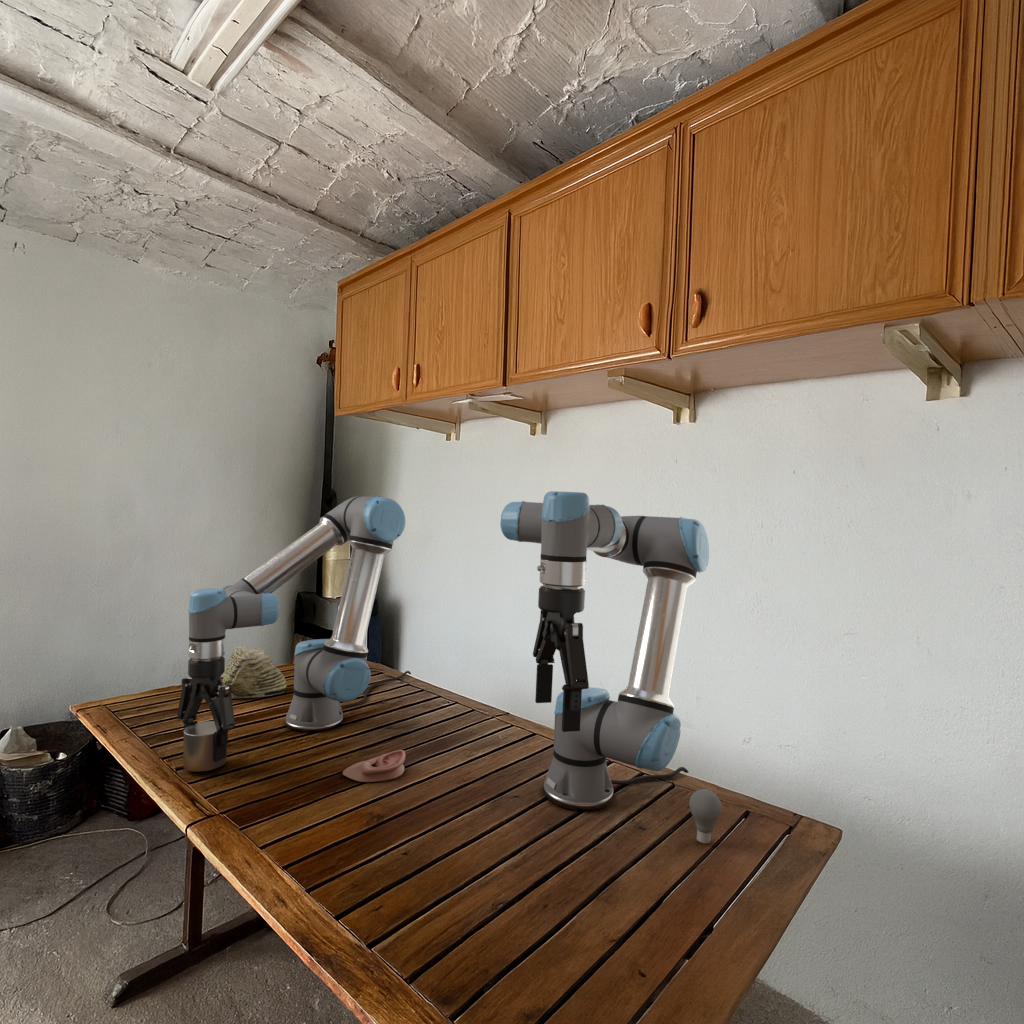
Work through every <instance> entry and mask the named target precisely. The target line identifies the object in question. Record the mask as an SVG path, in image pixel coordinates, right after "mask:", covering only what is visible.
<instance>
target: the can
mask: <svg viewBox="0 0 1024 1024" xmlns="http://www.w3.org/2000/svg"><path fill="white" fill-rule="evenodd" d="M221 727H222V725H221ZM216 731H217V729H216V726H215V723H214V720H208V721H207V720H206V721H201V722H198V723H196V724H193V725H190V726H188V727H186V728H185V729H184V728H183V740H182V741H183V748H182V749H183V751H182V752H183V754H182V767H183V769H184V770H186V771H189V772H207V771H212V770H215V769H218V768H220V767H222V766H223V765H225V764H226V762H227V760H228V759H227V757H228V755H227V753H228V744H227V745H226V758H224V759H222V760H220V761H217V762H214V732H216Z"/></svg>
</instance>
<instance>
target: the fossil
mask: <svg viewBox="0 0 1024 1024" xmlns="http://www.w3.org/2000/svg"><path fill="white" fill-rule="evenodd" d="M225 665H226V666H225V671H224V673H223V674H222V676H223V677H222V684H223V685H231V686H232V691H231V698H232V699H250V698H264V697H271V696H275V695H281V694H284V693H285V691H286V689H287V687H288V686H287V680H286V678H285V676H284V674H283V673H282V672H281V669H279V668H278V667H277V665H276V663H275V662H274V660H273V659H272V658H271V657H270V656H269V655H268V654H267V653H266V652H265V650H264V649H263V648H260V647H258V648H251V647H247V646H246V647H245V646H238V647H237V648H236V649H235V650H233V651H232V653H231V656H230V657H229V659H228V660H227V663H226V664H225Z"/></svg>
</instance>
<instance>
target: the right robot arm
mask: <svg viewBox="0 0 1024 1024" xmlns="http://www.w3.org/2000/svg"><path fill="white" fill-rule="evenodd" d="M500 530H501V533H502V535H503V536H504V537H505V538H506V539H507V540H509V541H515V542H518V543H531V544H532V543H533V544H540V561H539V564H540V565H537V566H536V569H537V571H538V572H539V583H540V584H542V585H540V587H539V588H538V601H537V606H538V609H539V610H540V615H539V624H538V627H537V632H536V638H535V642H534V647H533V651H532V657H533V658H535V663H536V677H535V703H536V704H547V703H550V704H552V700H553V699H552V698H553V697H552V696H553V678H554V665H553V664H555V663H556V662H555V658H554V656H555V653H556V651H558V653H559V658H560V663H561V667H562V672H563V678H564V682H565V684H563V685H562V687H561V690H562V691H561V692H560V693H559V694H558V695H557V696H556V701H555V706H554V707H555V708H554V712H553V713H554V730H553V731H554V732H553V757H552V759H551V762H550V765H549V768H548V770H547V773H546V775H545V778H544V781H543V796H544V797H545V798H546V800H548V801H549V802H550V803H552V804H554V805H555V806H556V807H557V806H558V807H559V808H563V809H567V810H571V811H579V812H592V811H597V810H602V809H604V808H606V807H608V806H610V805H611V804H612V803H613V799H614V787H613V785H619V786H625V785H630V784H634V783H637V782H642V781H647V780H664V779H672V778H674V777H675V776H677V775H678V774H679V773H681V772H684V773H685V774H688V773H689V769H687V768H686V767H684V766H680V767H678V768H677V769H676V770H674V771H672V772H670V773H666V774H665V773H664V774H647V775H641V776H637V777H634V778H630V779H629V778H628V779H625V780H623V779H621V780H619V779H611V775H610V771H609V768H608V764H607V759H610V760H612V761H616V762H620V763H623V764H627V765H630V766H633V767H636V769H643V770H648V771H653V772H658V771H659V772H660V771H662V770H664V769H665V768H666V767H667V766H668V765H669V764H670V762H671V761H672V759H673V758H674V756H675V753H676V751H677V748H678V745H679V741H680V737H681V727H682V724H681V720H680V718H679V717H678V716H677V715H676V714H675V713H674V711H675V705H674V703H673V702H672V700H671V699H670V696H669V695H670V689H671V684H672V677H673V671H674V665H675V661H676V654H677V649H678V642H679V637H680V632H681V631H680V630H681V624H682V619H683V613H684V607H685V602H686V601H685V600H686V595H687V589H688V587H689V586H691V585H692V584H693V583H695V582H696V580H697V574H698V573H704V572H705V571H706V570H707V568H708V565H709V559H710V546H709V538H708V533H707V529H705V526H704V524H703V523H702V522H701V521H700V520H698V519H696V518H695V519H694V518H687V517H683V516H681V517H680V516H679V517H671V516H670V517H669V516H651V515H650V516H649V515H648V516H647V515H623V516H621V514H620V513H619V512H618V511H617V510H616V509H615V508H613V507H611V506H609V505H605V504H590V498H589V495H588V494H587V493H586V492H580V491H579V492H578V491H559V490H558V491H556V490H554V491H552V490H551V491H547V492H546V493H545V494H544V496H543V501H542V502H534V501H533V502H532V501H531V502H530V501H525V500H521V501H511V502H509V503H507V504H505V506H504V507H503V509H502V511H501V515H500ZM588 551H590V552H593V553H594V554H595V555H597V556H598V557H602V558H607V559H610V560H614V561H617V562H622V563H625V564H628V565H634V566H639V567H640V566H641V567H642V573H643V574H644V576H645V577H646V578H647V581H646V588H645V592H644V599H643V603H642V609H641V614H640V619H639V625H638V629H637V635H636V641H635V645H634V652H633V657H632V660H631V661H632V663H631V668H630V672H629V678H628V683H627V686H626V688H624V689H623V690H621V691H620V692H619V693H618V697H617V700H616V701H615V700H611V695H610V692H609V691H608V690H607V689H605V688H601V687H594V686H593V687H591V686H589V685H590V683H589V675H588V668H587V660H586V659H587V658H586V652H585V643H584V625H583V623H582V622H575V614H579V613H582V612H584V610H585V601H586V590H585V589H584V588H583V587H584V586H585V585H586V584H587V568H588V567H587V565H588V561H587V554H588Z"/></svg>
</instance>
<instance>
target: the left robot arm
mask: <svg viewBox="0 0 1024 1024" xmlns="http://www.w3.org/2000/svg"><path fill="white" fill-rule="evenodd" d="M405 528H406V515H405V512H404V510H403V508H402V507H401V505H400V504H399V503H398V502H397V501H396V500H394V499H392V498H389V497H385V496H380V495H377V496H375V495H374V496H371V495H370V496H369V495H368V496H367V495H357V496H352V497H350V498H348V499H345V500H344V501H342V502H341V503H340V504H338V505H336V506H335V507H334V508H333V509H331V510H329V511H328V512H327V513H325V514H324V515H323V516H321V517H320V518H319V523H318V524H316V525H315V526H313V527H312V528H311V529H309V530H308V531H307V532H305V533H304V534H303V535H301V536H300V537H298V538H297V539H295V540H294V541H293V542H291V543H290V544H288V545H287V546H286V547H284V548H282V550H280V551H279V552H277V553H276V554H274V555H273V556H272V557H270V558H269V559H267V560H266V561H265V562H263V563H262V564H260V565H259V566H257V567H256V568H255V569H254V570H252V571H251V572H250V573H248V574H246V576H244V577H242V578H241V579H239V580H238V581H236V582H235V583H233V584H232V585H231V584H229V585H224V586H222V587H220V588H217V587H216V588H199V589H196V590H193V591H192V592H191V593H190V595H189V601H188V603H189V604H188V611H187V612H188V658H190V659H188V661H187V675H188V676H187V677H183V678H182V679H181V692H180V696H179V697H180V698H179V704H178V709H177V715H176V718H177V720H181V722H182V723H183V730H184V729H185V728H186V727H188V726H190V725H193V724H196V723H199V722H198V721H197V720H198V717H197V716H198V713H199V710H200V707H201V705H202V702H203V701H204V700H205V703H206V705H208V707H209V709H210V710H209V711H210V713H211V717H212V719H213V720H212V721H214V723H215V726H216V729H217V731H216V732H214V762H217V761H220V760H222V759H224V758H226V745H227V746H228V742H229V731H230V730H234V729H236V721H235V715H234V714H235V713H234V707H233V698H231V691H232V686H231V685H223V680H222V676H223V675H224V672H225V668H226V666H225V665H226V659H225V657H224V656H225V655H226V631H227V630H234V629H242V628H253V627H263V626H269V625H273V624H275V623H277V621H278V619H279V616H280V609H281V608H280V601H279V599H278V597H277V595H276V594H274V592H275V591H276V590H278V589H279V588H281V587H282V586H283V585H284V584H286V583H287V582H289V581H290V580H291V579H292V578H294V577H295V576H296V575H298V574H300V573H301V572H302V571H303V570H305V569H307V567H309V566H310V565H312V564H313V563H314V562H315V561H317V560H318V559H319V558H321V557H322V556H324V555H325V554H326V553H327V552H329V551H330V550H332V549H333V548H335V547H336V546H339V547H340V546H343V545H344V544H346V543H347V542H348V543H349V546H350V547H351V549H352V550H351V553H350V558H349V562H348V567H347V570H346V575H345V580H344V583H343V588H342V592H341V596H340V601H339V605H338V608H337V613H336V617H335V622H334V627H333V629H332V635H331V637H330V638H319V639H308V640H303V641H300V642H297V644H296V645H295V650H294V655H293V656H294V672H293V695H292V696H293V697H292V699H291V702H290V704H289V708H288V711H287V713H286V715H285V726H286V728H287V729H289V730H291V731H294V732H295V731H296V732H301V733H316V732H325V731H329V730H332V729H335V728H337V727H339V726H340V725H342V723H343V722H344V714H343V709H345V708H349V707H353V706H357V705H360V704H362V703H364V702H365V701H366V700H367V697H368V694H369V692H370V690H371V689H372V688H374V687H377V685H381V684H383V683H388V682H392V681H396V680H400V679H402V678H403V677H405V676H406V675H407V674H408V675H412V672H411V671H409V670H406V671H404V672H403V673H402V674H401V675H399V676H396V677H392V678H387V679H383V680H380V681H377V682H374V683H373V684H371V685H370V686H369V684H370V682H371V677H372V674H371V673H372V672H371V669H370V667H369V665H368V663H367V659H368V655H369V649H368V647H367V645H366V644H365V641H366V638H367V634H368V630H369V629H368V628H369V624H370V620H371V615H372V611H373V607H374V603H375V598H376V594H377V589H378V585H379V581H380V576H381V572H382V567H383V564H384V558H385V556H386V555H387V554H388V553H389V552H391V551H392V549H393V546H394V542H395V541H396V540H398V538H399V537H401V536H402V535H403V533H404V531H405ZM363 693H364V695H363ZM361 695H363V698H362V699H361V700H359V701H355V702H352V701H354V700H356V699H358V697H360V696H361ZM348 702H352V703H348ZM341 703H347V704H341ZM221 725H222V727H221Z"/></svg>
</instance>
